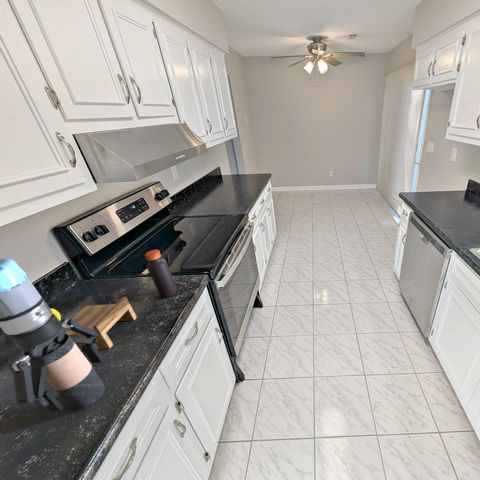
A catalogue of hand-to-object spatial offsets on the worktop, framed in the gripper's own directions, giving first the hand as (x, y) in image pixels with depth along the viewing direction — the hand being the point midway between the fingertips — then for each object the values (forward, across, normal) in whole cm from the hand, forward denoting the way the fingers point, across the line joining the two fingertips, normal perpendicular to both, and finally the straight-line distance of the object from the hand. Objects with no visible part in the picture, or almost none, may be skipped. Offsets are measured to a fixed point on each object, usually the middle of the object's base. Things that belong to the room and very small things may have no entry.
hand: (79, 383), depth 67 cm
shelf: (+6, +23, +14) cm, 27 cm away
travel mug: (+6, 0, 0) cm, 6 cm away
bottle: (+6, +44, +1) cm, 44 cm away
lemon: (+6, +28, +36) cm, 46 cm away
